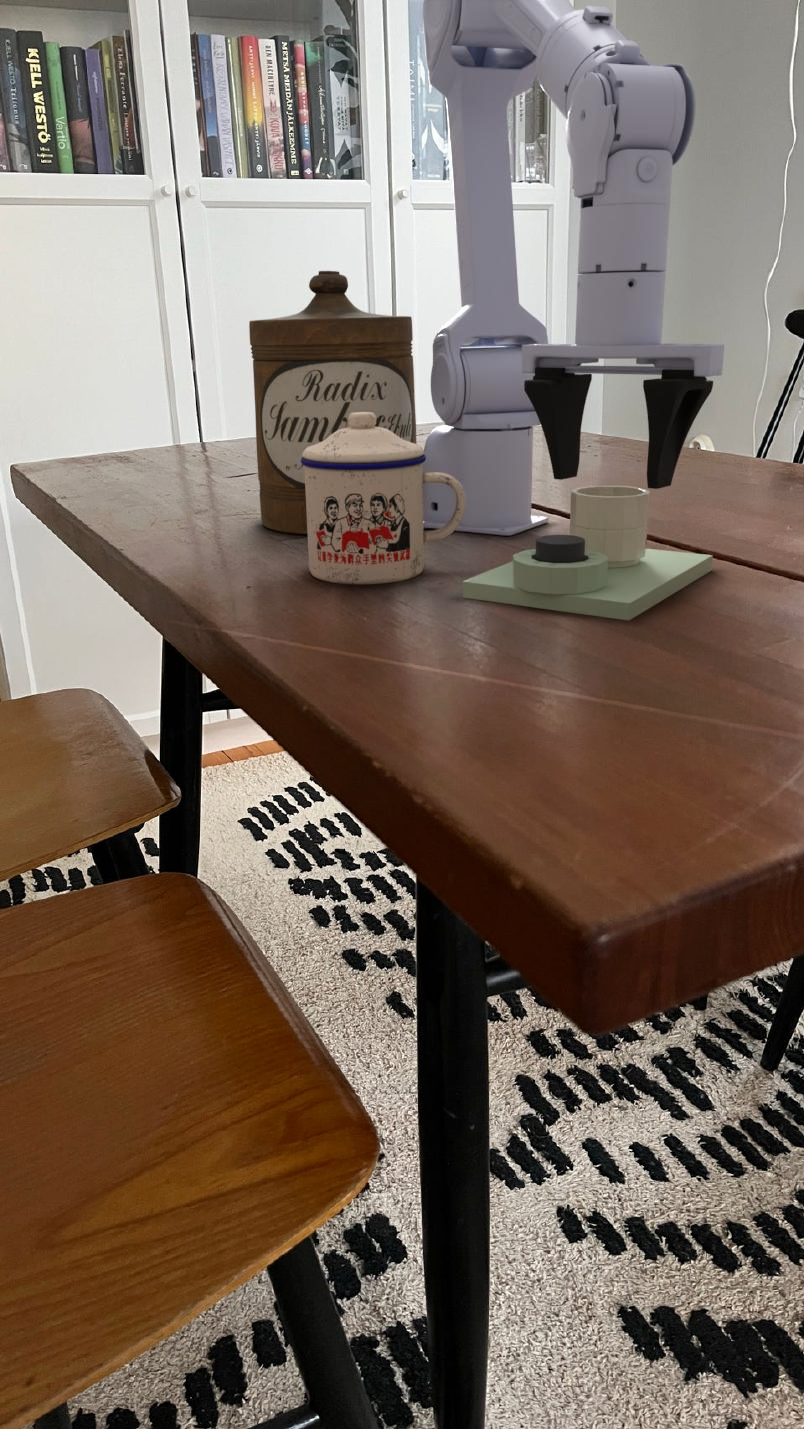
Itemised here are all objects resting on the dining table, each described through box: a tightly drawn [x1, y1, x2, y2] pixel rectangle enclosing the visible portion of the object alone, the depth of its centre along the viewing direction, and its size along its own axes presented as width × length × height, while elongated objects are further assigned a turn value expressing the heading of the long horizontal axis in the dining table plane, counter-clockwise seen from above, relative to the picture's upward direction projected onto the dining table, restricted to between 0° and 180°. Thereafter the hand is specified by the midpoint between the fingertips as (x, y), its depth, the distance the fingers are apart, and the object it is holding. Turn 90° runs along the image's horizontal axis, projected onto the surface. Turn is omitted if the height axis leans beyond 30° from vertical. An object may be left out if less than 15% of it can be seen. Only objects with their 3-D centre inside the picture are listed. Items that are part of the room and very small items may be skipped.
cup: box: [569, 485, 651, 568], centre depth 76 cm, size 5×6×5 cm
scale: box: [461, 548, 714, 621], centre depth 74 cm, size 16×12×3 cm
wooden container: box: [248, 270, 418, 536], centre depth 96 cm, size 15×15×22 cm
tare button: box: [535, 534, 585, 563], centre depth 70 cm, size 3×3×2 cm
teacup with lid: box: [301, 412, 466, 586], centre depth 78 cm, size 12×9×12 cm
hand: (610, 482), depth 75 cm, fingers open, 7 cm apart
